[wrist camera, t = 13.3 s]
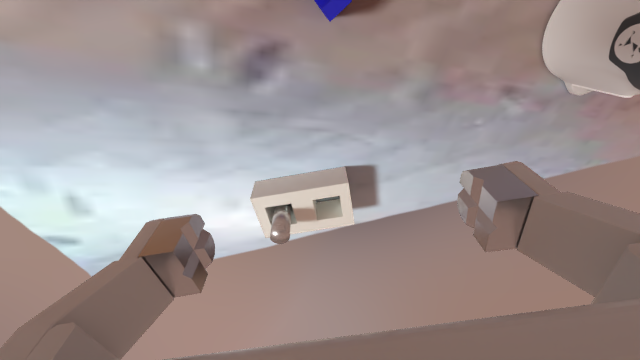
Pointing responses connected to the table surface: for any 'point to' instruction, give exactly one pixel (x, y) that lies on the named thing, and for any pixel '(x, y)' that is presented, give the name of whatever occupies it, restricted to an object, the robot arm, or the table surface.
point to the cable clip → (332, 7)
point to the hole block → (305, 200)
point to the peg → (281, 224)
